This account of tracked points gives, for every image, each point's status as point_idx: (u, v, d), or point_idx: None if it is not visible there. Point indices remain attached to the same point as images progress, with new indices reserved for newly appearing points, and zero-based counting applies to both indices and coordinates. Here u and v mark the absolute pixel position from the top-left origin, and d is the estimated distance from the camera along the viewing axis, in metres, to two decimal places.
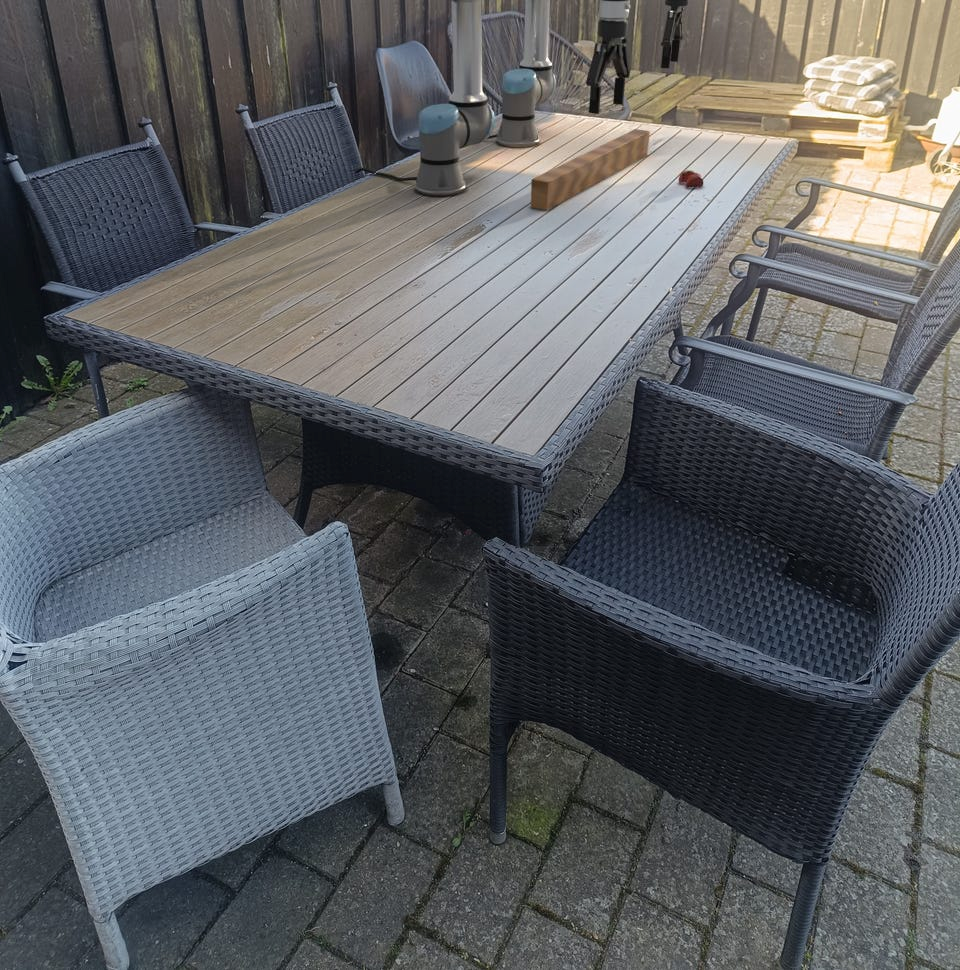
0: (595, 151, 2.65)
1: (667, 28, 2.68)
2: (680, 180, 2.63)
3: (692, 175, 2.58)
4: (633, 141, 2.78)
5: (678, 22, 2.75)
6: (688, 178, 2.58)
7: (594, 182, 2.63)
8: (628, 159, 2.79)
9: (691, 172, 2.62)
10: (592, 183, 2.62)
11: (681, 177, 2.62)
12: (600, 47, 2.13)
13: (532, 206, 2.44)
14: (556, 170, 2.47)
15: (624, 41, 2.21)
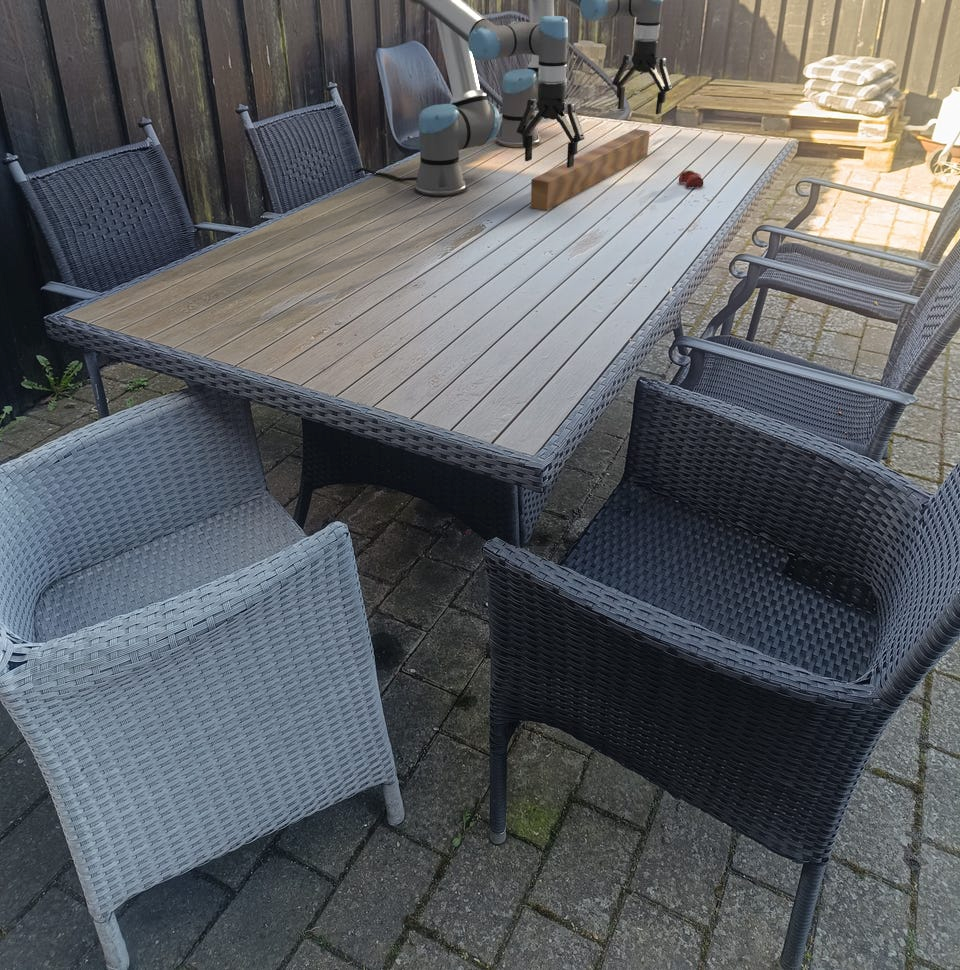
0: (595, 151, 2.65)
1: (666, 75, 2.70)
2: (680, 180, 2.63)
3: (692, 175, 2.58)
4: (633, 141, 2.78)
5: (636, 69, 2.75)
6: (688, 178, 2.58)
7: (594, 182, 2.63)
8: (628, 159, 2.79)
9: (691, 172, 2.62)
10: (592, 183, 2.62)
11: (681, 177, 2.62)
12: (574, 106, 2.28)
13: (532, 206, 2.44)
14: (556, 170, 2.47)
15: None
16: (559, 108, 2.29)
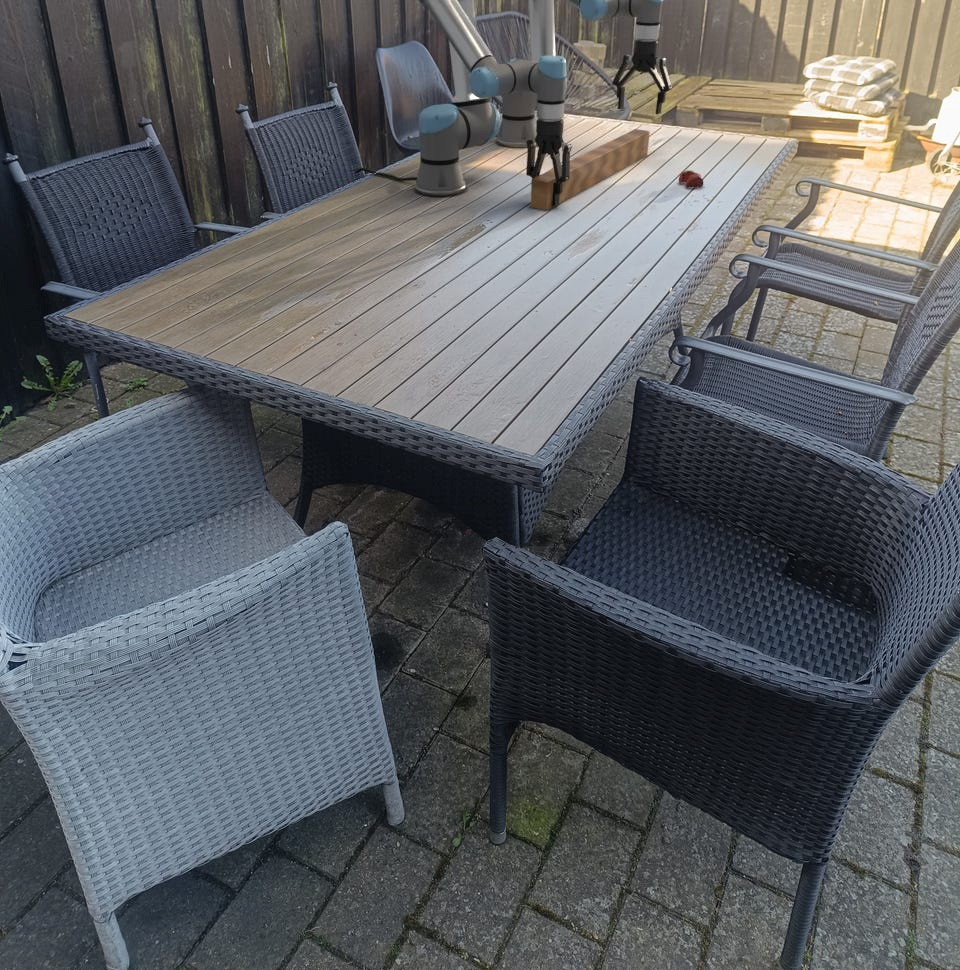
0: (595, 151, 2.65)
1: (666, 75, 2.70)
2: (680, 180, 2.63)
3: (692, 175, 2.58)
4: (633, 141, 2.78)
5: (636, 69, 2.75)
6: (688, 178, 2.58)
7: (594, 182, 2.63)
8: (628, 159, 2.79)
9: (691, 172, 2.62)
10: (592, 183, 2.62)
11: (681, 177, 2.62)
12: (570, 148, 2.34)
13: (532, 206, 2.44)
14: None
15: None
16: (557, 144, 2.34)
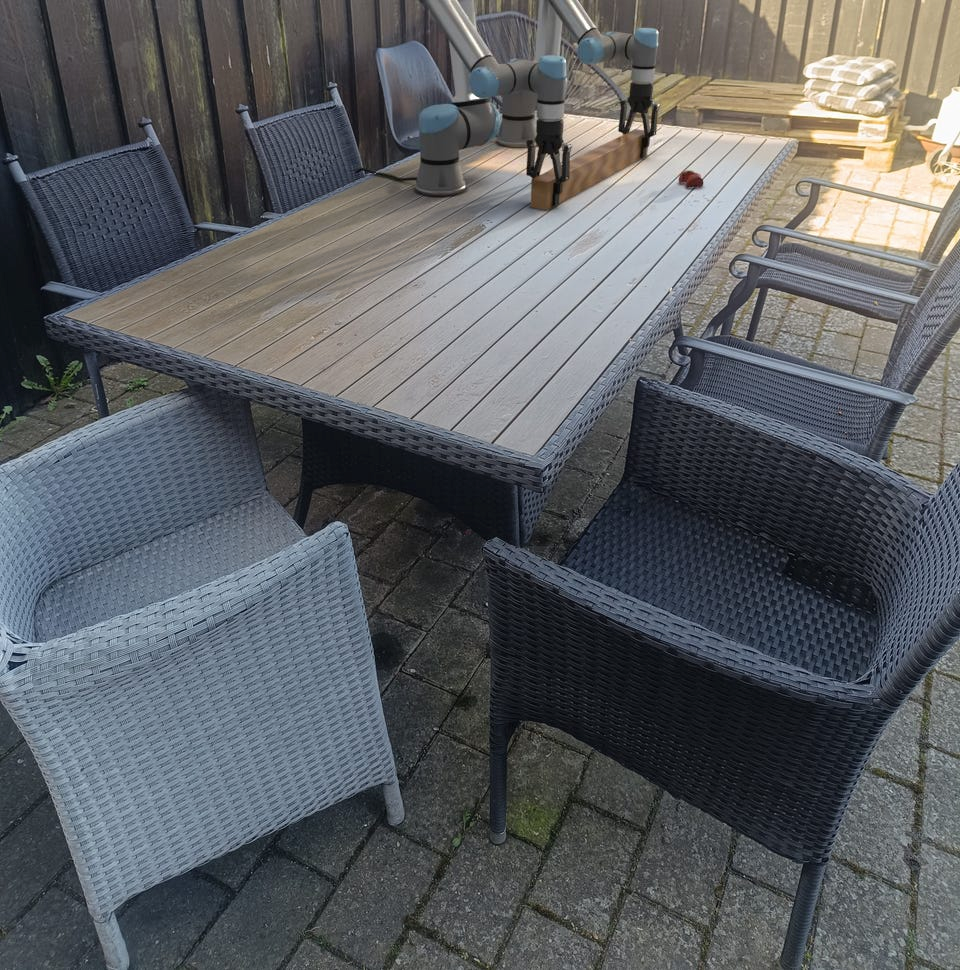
0: (595, 151, 2.65)
1: (655, 122, 2.79)
2: (680, 180, 2.63)
3: (692, 175, 2.58)
4: (633, 141, 2.78)
5: None
6: (688, 178, 2.58)
7: (594, 182, 2.63)
8: (628, 159, 2.79)
9: (691, 172, 2.62)
10: (592, 183, 2.62)
11: (681, 177, 2.62)
12: (570, 148, 2.34)
13: (532, 206, 2.44)
14: None
15: None
16: (557, 144, 2.34)
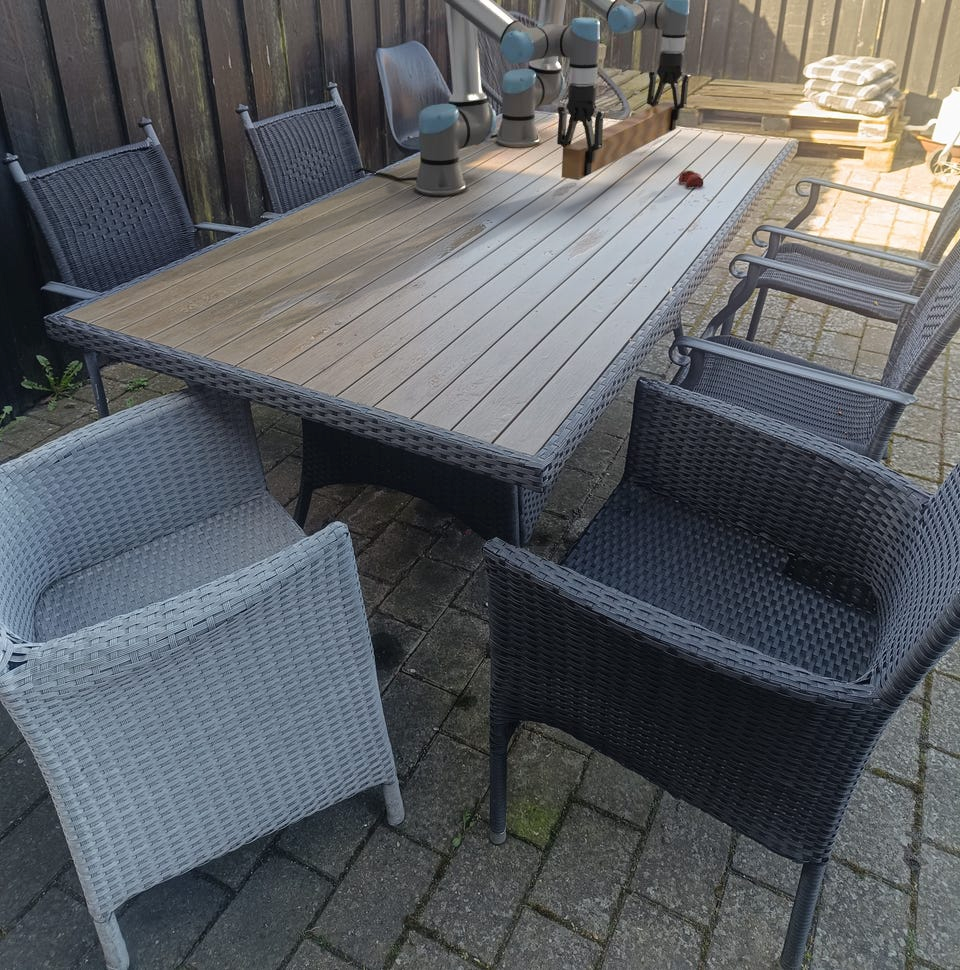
0: (625, 122, 2.57)
1: (685, 93, 2.71)
2: (680, 180, 2.63)
3: (692, 175, 2.58)
4: (663, 113, 2.70)
5: None
6: (688, 178, 2.58)
7: (625, 153, 2.55)
8: (658, 131, 2.71)
9: (691, 172, 2.62)
10: (623, 154, 2.54)
11: (681, 177, 2.62)
12: (603, 115, 2.27)
13: (563, 176, 2.37)
14: None
15: None
16: (589, 110, 2.27)
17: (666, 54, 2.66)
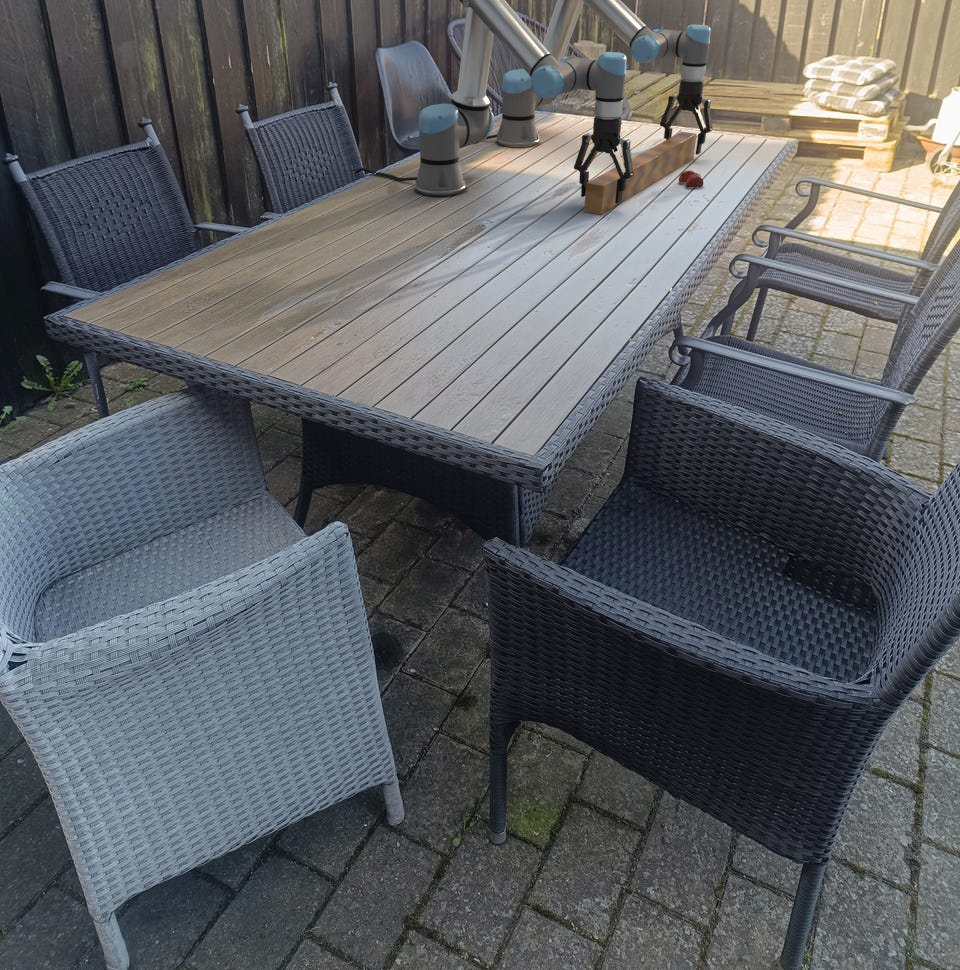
0: (645, 154, 2.61)
1: (709, 117, 2.74)
2: (680, 180, 2.63)
3: (692, 175, 2.58)
4: (681, 144, 2.75)
5: None
6: (688, 178, 2.58)
7: (645, 185, 2.60)
8: (676, 162, 2.76)
9: (691, 172, 2.62)
10: (643, 186, 2.59)
11: (681, 177, 2.62)
12: (629, 143, 2.30)
13: (586, 210, 2.41)
14: (609, 173, 2.44)
15: None
16: (614, 142, 2.30)
17: (686, 82, 2.69)
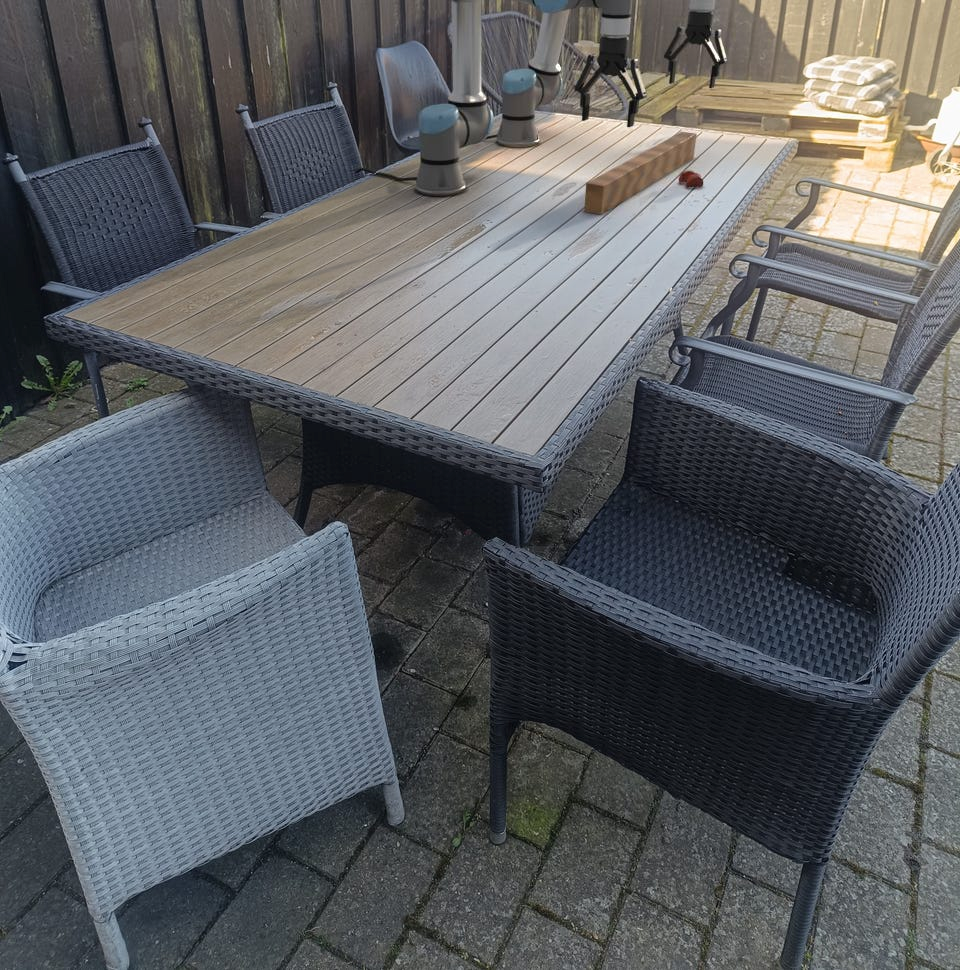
0: (645, 154, 2.61)
1: (721, 47, 2.62)
2: (680, 180, 2.63)
3: (692, 175, 2.58)
4: (681, 144, 2.75)
5: (689, 42, 2.67)
6: (688, 178, 2.58)
7: (645, 185, 2.60)
8: (676, 162, 2.76)
9: (691, 172, 2.62)
10: (643, 186, 2.59)
11: (681, 177, 2.62)
12: (637, 62, 2.18)
13: (586, 210, 2.41)
14: (609, 173, 2.44)
15: None
16: (621, 64, 2.19)
17: (696, 13, 2.58)
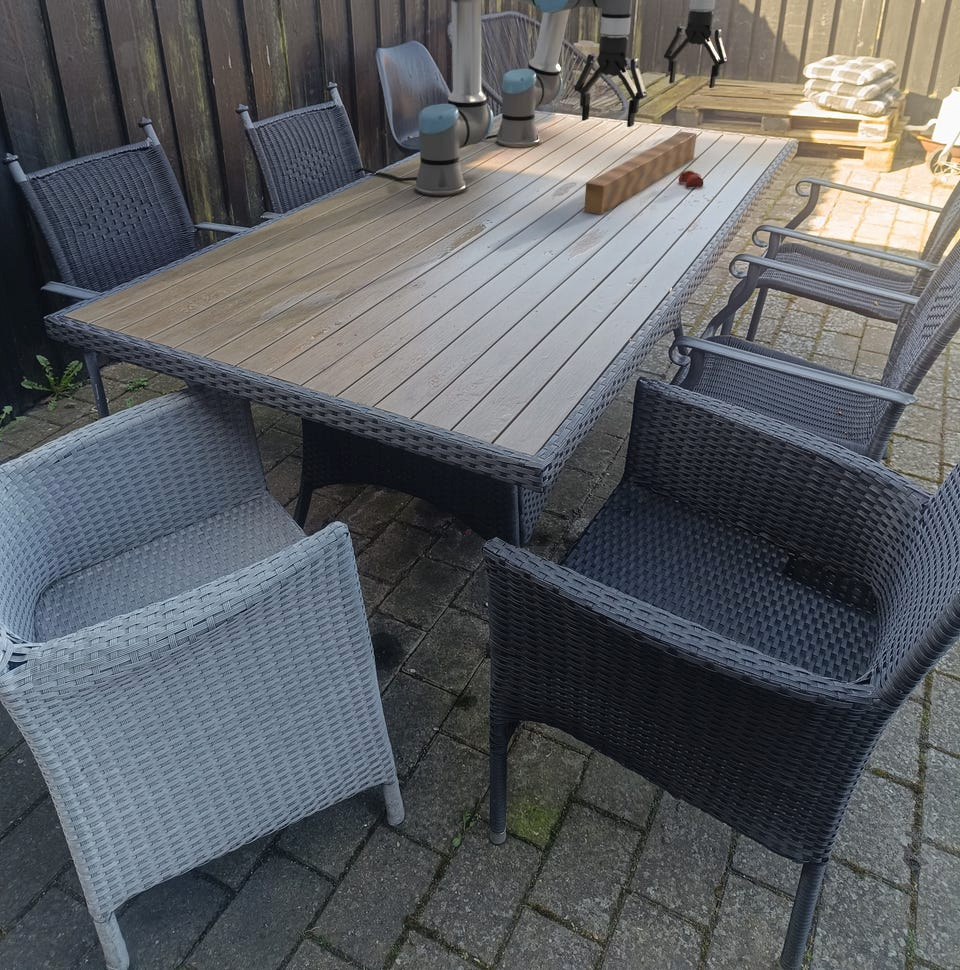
0: (645, 154, 2.61)
1: (722, 47, 2.62)
2: (680, 180, 2.63)
3: (692, 175, 2.58)
4: (681, 144, 2.75)
5: (689, 42, 2.67)
6: (688, 178, 2.58)
7: (645, 185, 2.60)
8: (676, 162, 2.76)
9: (691, 172, 2.62)
10: (643, 186, 2.59)
11: (681, 177, 2.62)
12: (637, 61, 2.18)
13: (586, 210, 2.41)
14: (609, 173, 2.44)
15: None
16: (621, 63, 2.19)
17: (696, 12, 2.58)
